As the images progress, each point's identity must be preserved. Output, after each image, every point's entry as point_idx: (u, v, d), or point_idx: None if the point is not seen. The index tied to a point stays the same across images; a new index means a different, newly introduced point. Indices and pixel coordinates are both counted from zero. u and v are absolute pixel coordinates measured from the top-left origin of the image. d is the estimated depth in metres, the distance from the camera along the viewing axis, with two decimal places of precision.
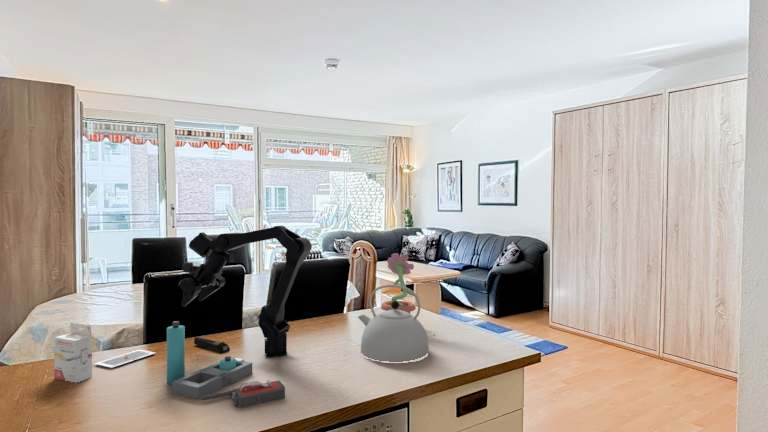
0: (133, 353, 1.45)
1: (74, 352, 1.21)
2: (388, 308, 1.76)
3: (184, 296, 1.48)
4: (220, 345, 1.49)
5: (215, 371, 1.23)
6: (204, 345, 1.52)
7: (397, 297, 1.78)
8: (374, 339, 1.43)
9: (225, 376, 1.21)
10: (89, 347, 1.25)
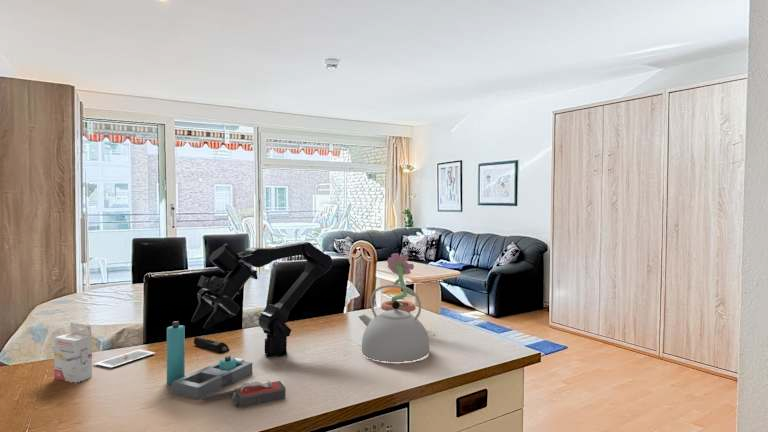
0: (132, 353, 1.45)
1: (74, 352, 1.21)
2: (388, 308, 1.76)
3: (213, 317, 1.27)
4: (219, 345, 1.49)
5: (215, 371, 1.23)
6: (204, 345, 1.52)
7: (397, 297, 1.78)
8: (375, 339, 1.42)
9: (225, 376, 1.21)
10: (89, 347, 1.25)
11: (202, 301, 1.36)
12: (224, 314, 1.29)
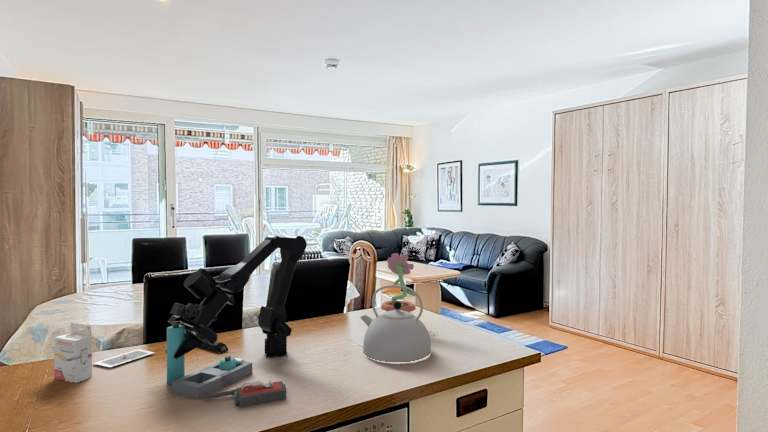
0: (131, 353, 1.45)
1: (74, 352, 1.21)
2: (388, 308, 1.76)
3: (184, 345, 1.21)
4: (218, 345, 1.48)
5: (215, 371, 1.23)
6: (203, 345, 1.52)
7: (397, 297, 1.78)
8: (377, 339, 1.42)
9: (225, 376, 1.21)
10: (89, 347, 1.25)
11: None
12: (196, 342, 1.23)
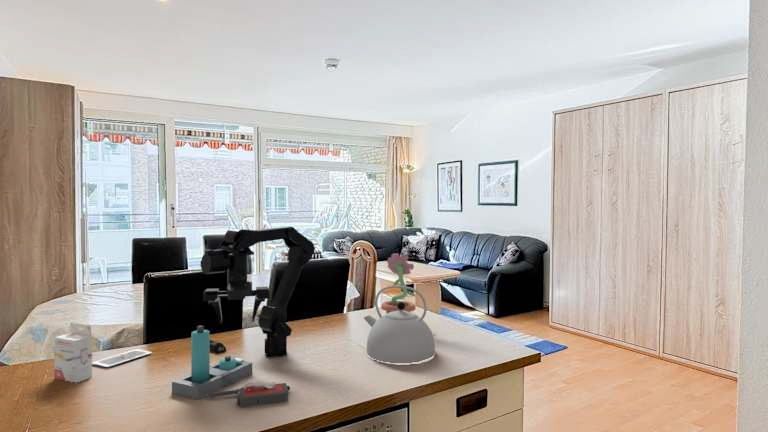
0: (129, 352, 1.45)
1: (74, 352, 1.21)
2: (388, 308, 1.76)
3: None
4: (216, 345, 1.48)
5: (215, 371, 1.23)
6: None
7: (397, 297, 1.78)
8: (380, 340, 1.41)
9: (225, 376, 1.21)
10: (89, 347, 1.25)
11: (219, 303, 1.33)
12: None
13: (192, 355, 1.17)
